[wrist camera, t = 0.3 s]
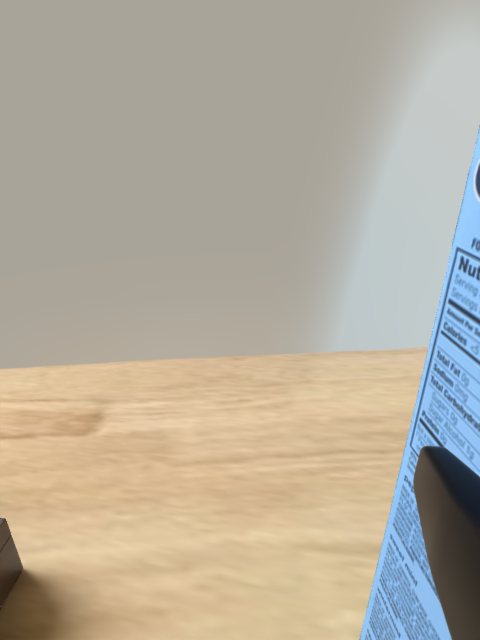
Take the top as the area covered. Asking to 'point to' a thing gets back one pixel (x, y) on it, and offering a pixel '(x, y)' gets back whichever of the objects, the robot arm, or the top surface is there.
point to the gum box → (434, 438)
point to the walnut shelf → (7, 561)
